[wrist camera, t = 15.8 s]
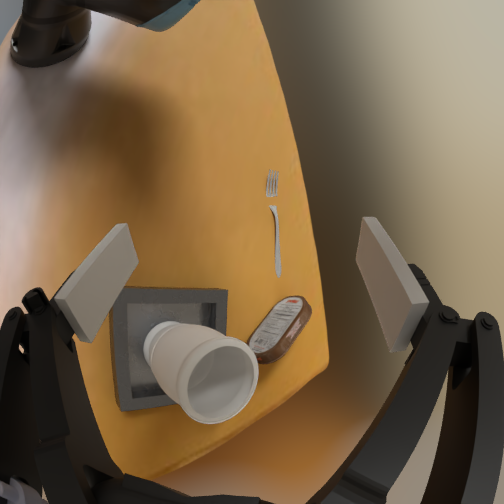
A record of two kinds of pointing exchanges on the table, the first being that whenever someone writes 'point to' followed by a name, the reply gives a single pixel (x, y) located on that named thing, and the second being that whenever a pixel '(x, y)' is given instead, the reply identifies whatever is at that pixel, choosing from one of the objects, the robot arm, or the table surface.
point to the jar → (202, 369)
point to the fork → (273, 208)
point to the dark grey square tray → (140, 324)
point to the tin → (279, 329)
